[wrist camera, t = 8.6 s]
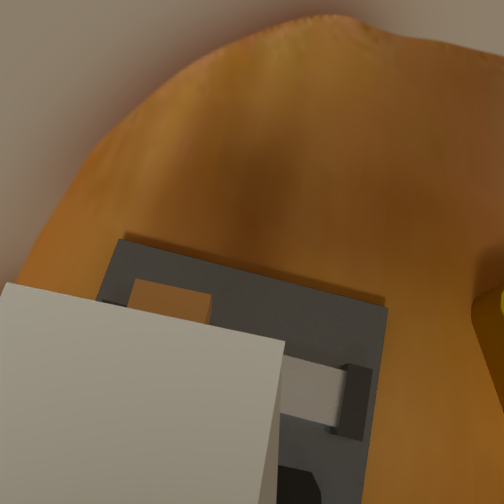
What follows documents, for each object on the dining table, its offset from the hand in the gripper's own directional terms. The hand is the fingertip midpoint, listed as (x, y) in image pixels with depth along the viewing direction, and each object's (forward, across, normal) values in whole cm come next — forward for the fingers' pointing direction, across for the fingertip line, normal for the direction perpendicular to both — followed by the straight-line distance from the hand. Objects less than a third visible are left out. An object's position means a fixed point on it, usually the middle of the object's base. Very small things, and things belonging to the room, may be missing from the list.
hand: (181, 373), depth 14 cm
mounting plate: (+13, +1, -10) cm, 17 cm away
